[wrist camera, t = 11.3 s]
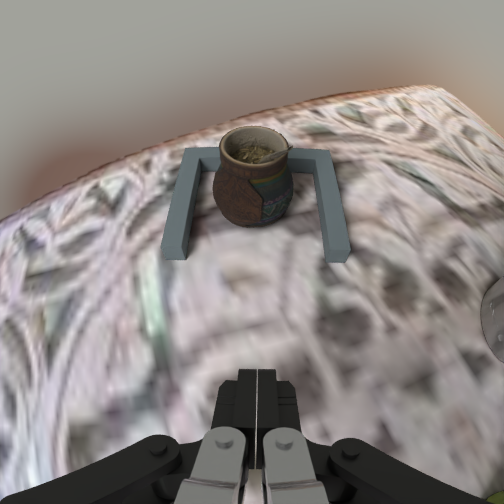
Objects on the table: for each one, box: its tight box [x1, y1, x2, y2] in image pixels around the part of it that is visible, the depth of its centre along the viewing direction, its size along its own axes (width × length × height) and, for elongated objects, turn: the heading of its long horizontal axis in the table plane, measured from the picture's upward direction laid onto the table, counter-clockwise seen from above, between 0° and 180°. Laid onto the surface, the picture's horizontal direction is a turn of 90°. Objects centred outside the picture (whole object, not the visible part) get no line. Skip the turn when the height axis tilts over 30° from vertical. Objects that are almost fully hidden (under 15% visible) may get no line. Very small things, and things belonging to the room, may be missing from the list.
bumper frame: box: [161, 147, 351, 263], centre depth 30 cm, size 16×13×2 cm
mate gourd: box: [213, 126, 293, 228], centre depth 26 cm, size 7×8×10 cm
